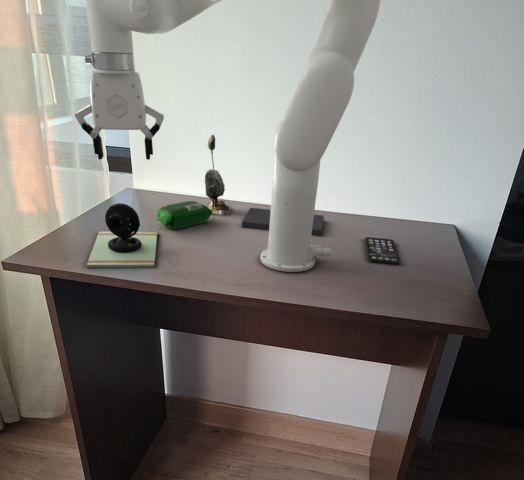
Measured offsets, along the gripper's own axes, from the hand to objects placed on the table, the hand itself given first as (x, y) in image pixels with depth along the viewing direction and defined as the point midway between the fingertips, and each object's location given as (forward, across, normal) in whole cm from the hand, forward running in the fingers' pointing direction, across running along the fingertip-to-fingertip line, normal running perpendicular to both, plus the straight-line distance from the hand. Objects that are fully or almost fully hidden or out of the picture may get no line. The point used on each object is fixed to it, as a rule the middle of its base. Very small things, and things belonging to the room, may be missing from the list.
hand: (124, 158), depth 101 cm
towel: (+20, -2, -1) cm, 20 cm away
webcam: (+20, -2, -1) cm, 20 cm away
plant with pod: (+20, +21, +28) cm, 41 cm away
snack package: (+20, +12, +17) cm, 29 cm away
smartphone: (+22, +60, -2) cm, 64 cm away
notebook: (+21, +39, +18) cm, 48 cm away
